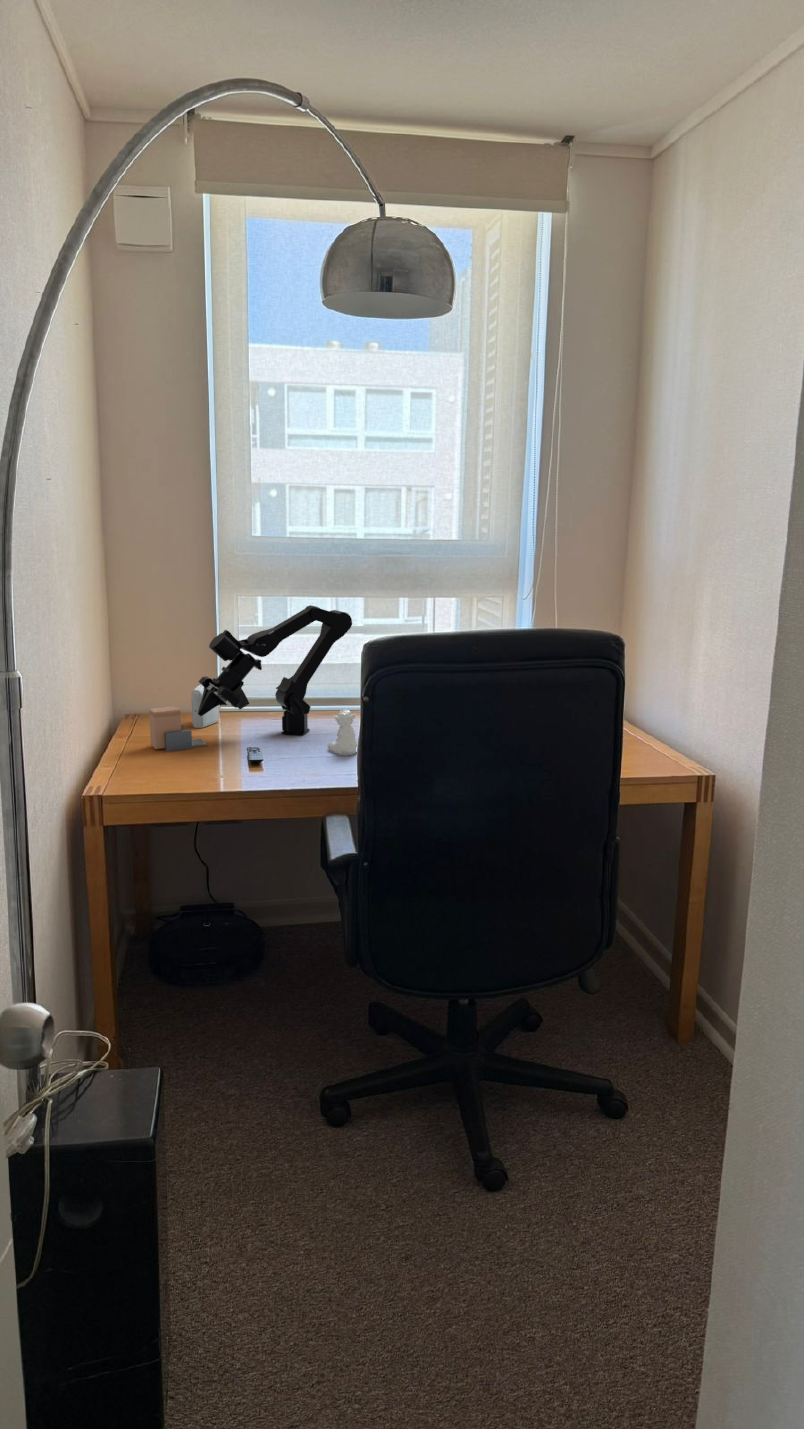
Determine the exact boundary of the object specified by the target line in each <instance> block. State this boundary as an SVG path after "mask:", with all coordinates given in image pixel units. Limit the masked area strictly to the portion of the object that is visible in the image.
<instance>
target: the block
mask: <svg viewBox="0 0 804 1429" xmlns="http://www.w3.org/2000/svg"><path fill="white" fill-rule="evenodd" d="M148 714H149V730H150V731H149V732H150V733H149V734H150V745H151V746H152V747H153V748H154V749H155V750H159V749H163V748H165V735H164V732H172V731H181V724H182V719H181V714H182V713H181V709H180V708H178V707H177V706H164V707H155V708H149V710H148Z"/></svg>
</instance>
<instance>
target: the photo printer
mask: <svg viewBox="0 0 804 1429" xmlns="http://www.w3.org/2000/svg"><path fill="white" fill-rule="evenodd" d="M203 688H204V686H202V685H201V684H200V685H198V686H196V687H195V688H194V689H193V690H192V692H191V694H190V695H191V700H190V701H191V718H192V719H191V720H192V721H191V722H192V723H191V724H192V727H194V728H195V729H204V728H206V727H209V726H211V725H213V724H215V723H217V722H219V721H220V705H218V706H216V707H215V708H213V709H212V710H210V711H209V712H207V713H206V714H204V715H203V716H200V715H198V710H199V707H200V703H201V700H202V695H203V691H204V689H203Z"/></svg>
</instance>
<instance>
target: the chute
mask: <svg viewBox="0 0 804 1429" xmlns="http://www.w3.org/2000/svg"><path fill="white" fill-rule="evenodd" d="M192 731H193V730H192V729H184V724H183V723H181V731H172V732H164V735H165V748H162V750H164V751H165V752H166V751H167V752H173V751H182V750H192V749H193V748H199V747H206V746H205V745H207V746H208V744H207V743H206V741H204V740H202V739H200V738H199V739H198V738H196V739H193V737H192V736H193V734H192V733H193V732H192ZM197 746H198V747H197Z"/></svg>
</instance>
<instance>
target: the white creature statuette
mask: <svg viewBox="0 0 804 1429" xmlns="http://www.w3.org/2000/svg"><path fill="white" fill-rule="evenodd" d="M333 717H334V720H335V721H336V722H337V725H338V726H339V728H338V730H337V734H336V736H337V738H336V741H334V740H333V741H331V742H329V743H328V744H327V750H328V751H329V752H331V753H334V754H337V755H339V756H346V757H348V756H347V755H349V756H353V754H354V755H356V747H357V741H358V740H356V733H355V730H354V727H353V726H352V724H353V723H354V719H355V718H356V713H352V712H351V710H349V709H343V710H342V709H341V710H340V711H338V713H337V714H336V715H333Z"/></svg>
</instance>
